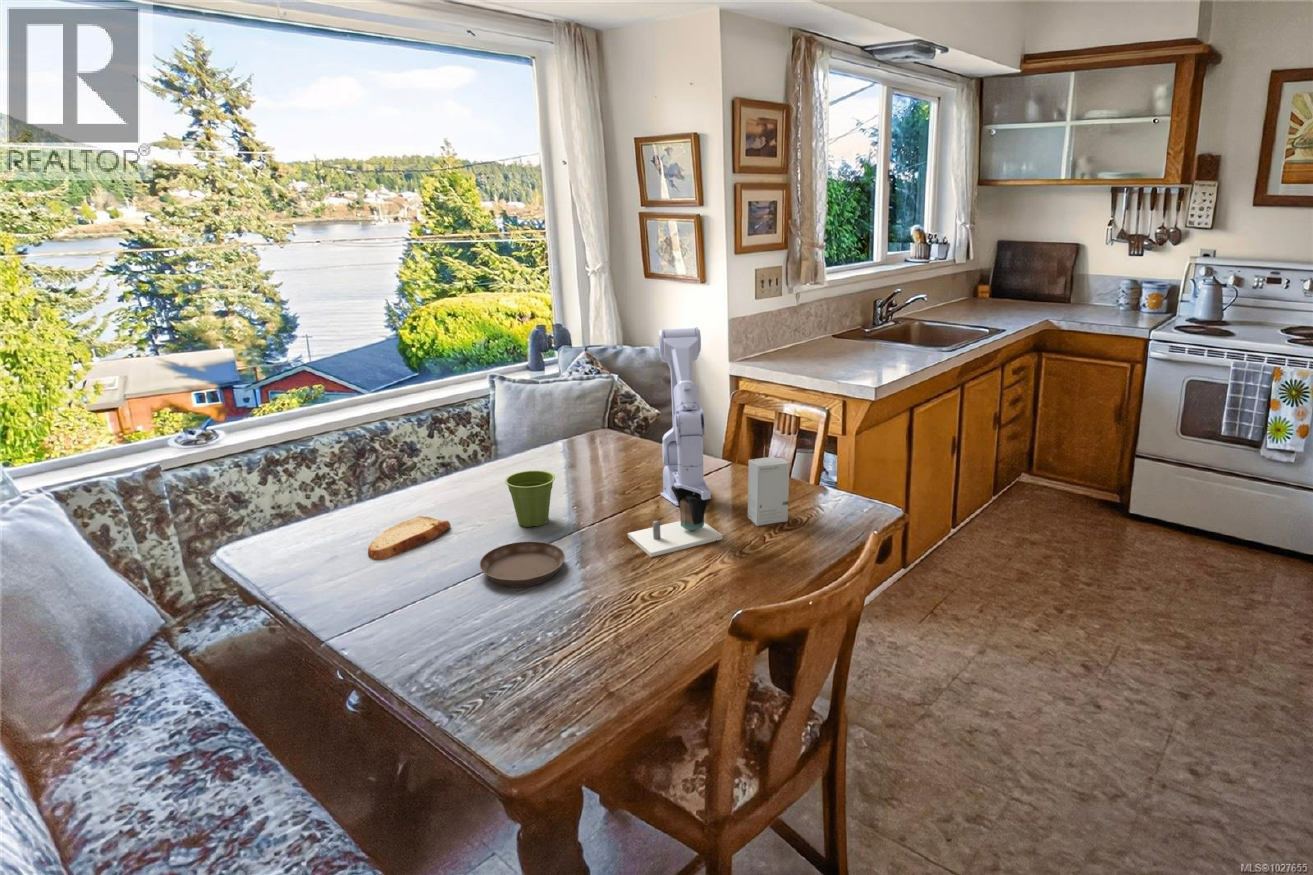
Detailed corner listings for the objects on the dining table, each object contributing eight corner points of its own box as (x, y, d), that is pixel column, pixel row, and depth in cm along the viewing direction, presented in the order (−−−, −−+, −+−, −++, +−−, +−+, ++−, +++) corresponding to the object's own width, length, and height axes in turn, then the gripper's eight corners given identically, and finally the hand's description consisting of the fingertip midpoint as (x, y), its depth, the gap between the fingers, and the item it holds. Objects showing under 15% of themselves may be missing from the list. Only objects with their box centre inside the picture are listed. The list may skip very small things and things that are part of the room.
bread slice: (365, 563, 171) (363, 548, 170) (374, 531, 188) (372, 517, 187) (449, 552, 175) (447, 537, 174) (451, 522, 192) (449, 508, 190)
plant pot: (549, 533, 182) (545, 488, 179) (501, 530, 185) (497, 486, 181) (564, 513, 193) (561, 470, 190) (519, 511, 196) (515, 469, 192)
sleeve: (677, 523, 179) (677, 499, 178) (696, 519, 181) (696, 495, 180) (688, 531, 175) (687, 506, 173) (707, 526, 177) (707, 502, 175)
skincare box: (757, 527, 181) (757, 466, 177) (746, 517, 187) (746, 458, 182) (789, 521, 184) (790, 462, 179) (778, 512, 189) (779, 454, 185)
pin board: (627, 537, 178) (626, 516, 177) (696, 520, 186) (696, 501, 184) (650, 557, 168) (650, 535, 167) (722, 539, 176) (722, 518, 174)
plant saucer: (583, 568, 165) (582, 555, 164) (516, 601, 152) (515, 587, 151) (529, 546, 176) (528, 534, 175) (463, 575, 164) (462, 562, 163)
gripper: (659, 457, 178) (661, 511, 182) (690, 475, 166) (691, 534, 170) (686, 451, 181) (688, 505, 185) (718, 469, 169) (719, 527, 173)
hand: (691, 519), depth 178 cm, fingers closed on sleeve, 5 cm apart
